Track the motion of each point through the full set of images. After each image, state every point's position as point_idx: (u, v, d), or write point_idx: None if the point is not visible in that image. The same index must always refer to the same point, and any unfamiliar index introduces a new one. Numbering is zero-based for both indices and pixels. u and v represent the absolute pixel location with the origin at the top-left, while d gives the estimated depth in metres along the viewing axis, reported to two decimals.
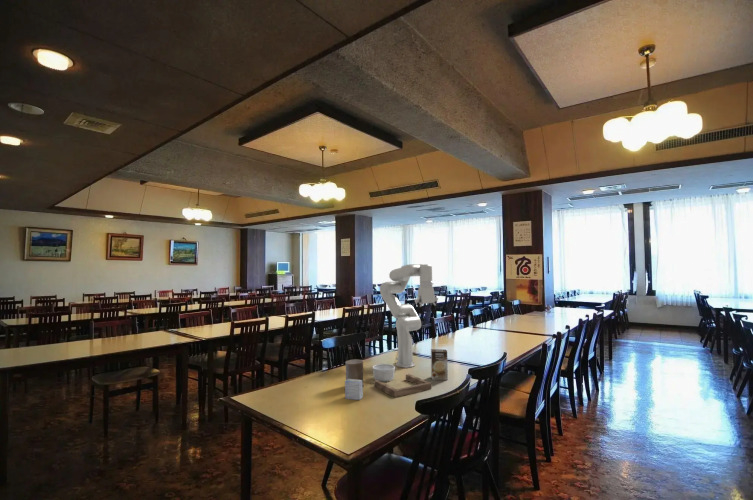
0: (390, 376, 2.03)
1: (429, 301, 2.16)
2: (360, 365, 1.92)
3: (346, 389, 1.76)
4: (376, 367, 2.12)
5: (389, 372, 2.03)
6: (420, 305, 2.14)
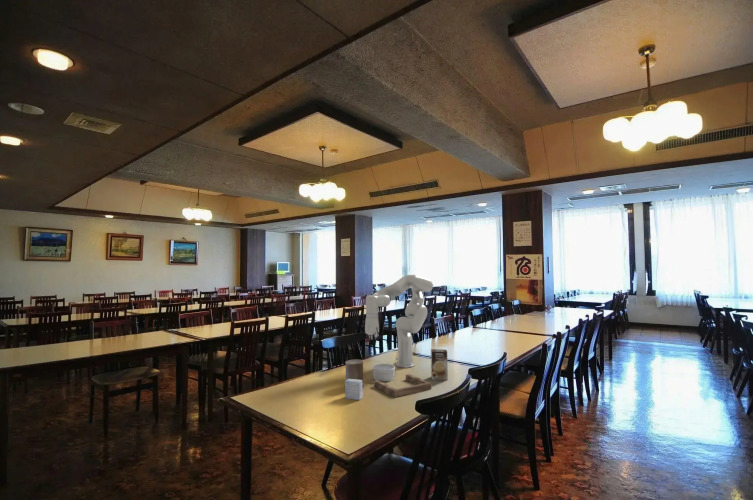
0: (390, 376, 2.03)
1: None
2: (360, 365, 1.92)
3: (346, 389, 1.76)
4: (376, 367, 2.12)
5: (389, 372, 2.03)
6: None
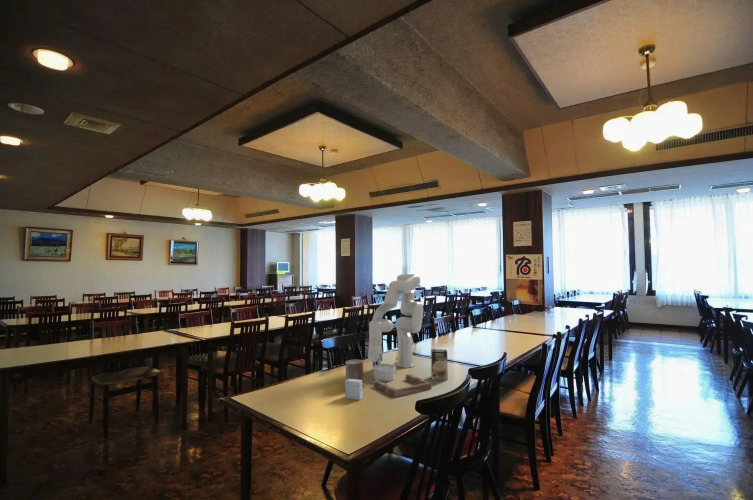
0: (390, 376, 2.03)
1: None
2: (360, 365, 1.92)
3: (346, 389, 1.76)
4: (376, 367, 2.12)
5: (389, 372, 2.02)
6: None
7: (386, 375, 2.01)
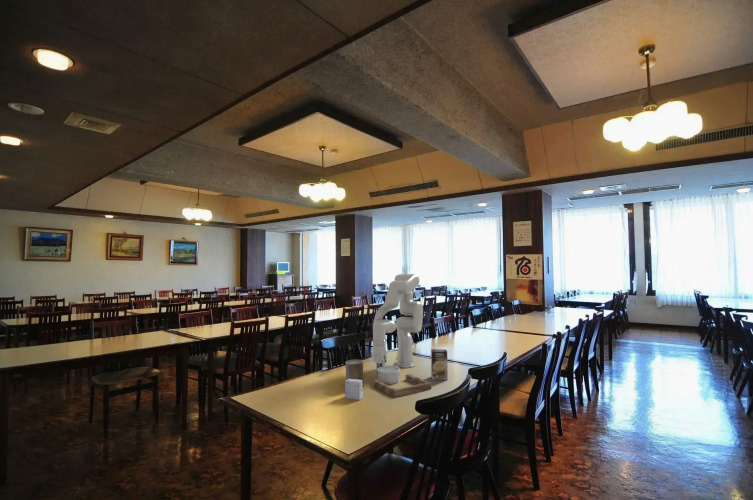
0: (395, 378, 1.99)
1: None
2: (360, 365, 1.92)
3: (346, 389, 1.76)
4: (381, 369, 2.08)
5: (394, 374, 1.98)
6: None
7: (391, 377, 1.97)
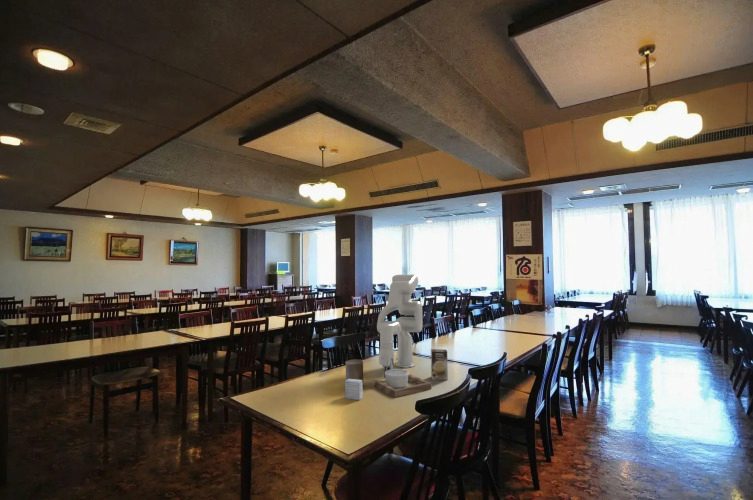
0: (403, 382, 1.91)
1: None
2: (360, 365, 1.92)
3: (346, 389, 1.76)
4: (388, 372, 2.01)
5: (402, 378, 1.91)
6: None
7: (399, 381, 1.90)
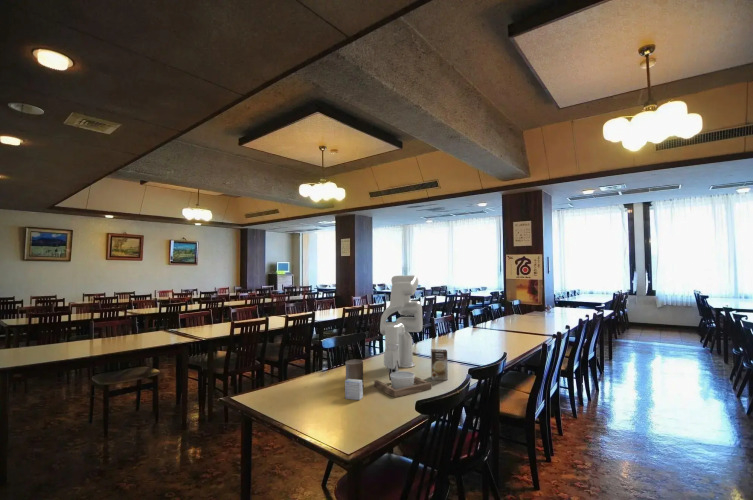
0: (409, 385, 1.87)
1: None
2: (360, 365, 1.92)
3: (346, 389, 1.76)
4: (394, 374, 1.96)
5: (408, 380, 1.86)
6: None
7: (404, 384, 1.86)
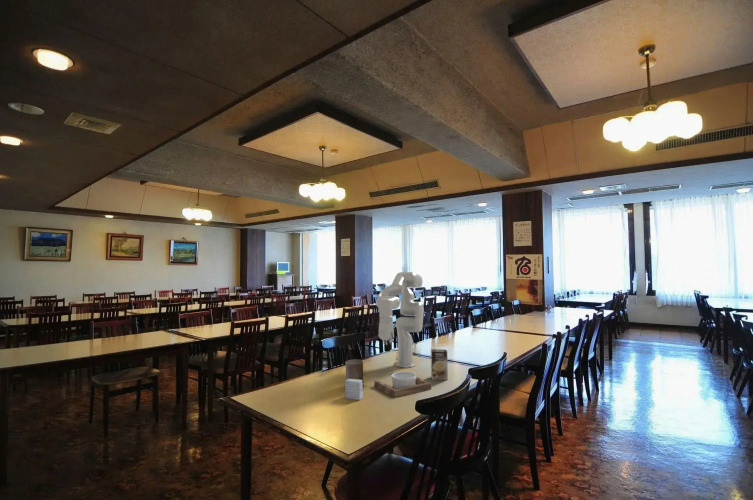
0: None
1: None
2: (360, 365, 1.92)
3: (346, 389, 1.76)
4: (395, 375, 1.95)
5: (409, 381, 1.85)
6: None
7: (406, 384, 1.85)
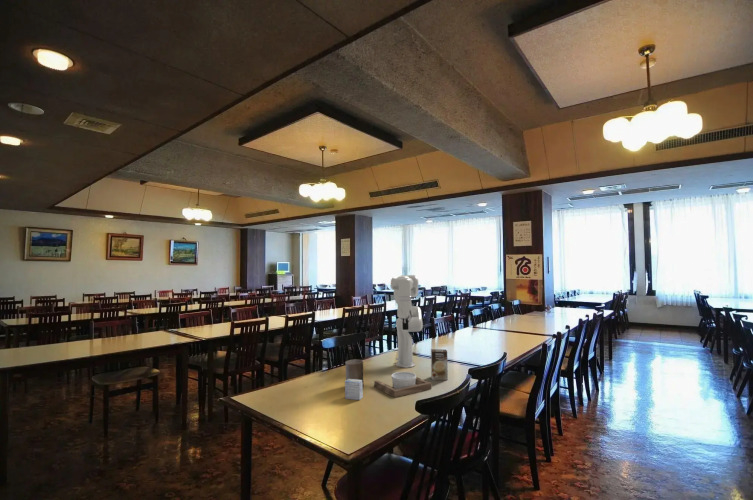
0: None
1: None
2: (360, 365, 1.92)
3: (346, 389, 1.76)
4: (395, 375, 1.95)
5: (409, 381, 1.85)
6: None
7: (406, 384, 1.85)
